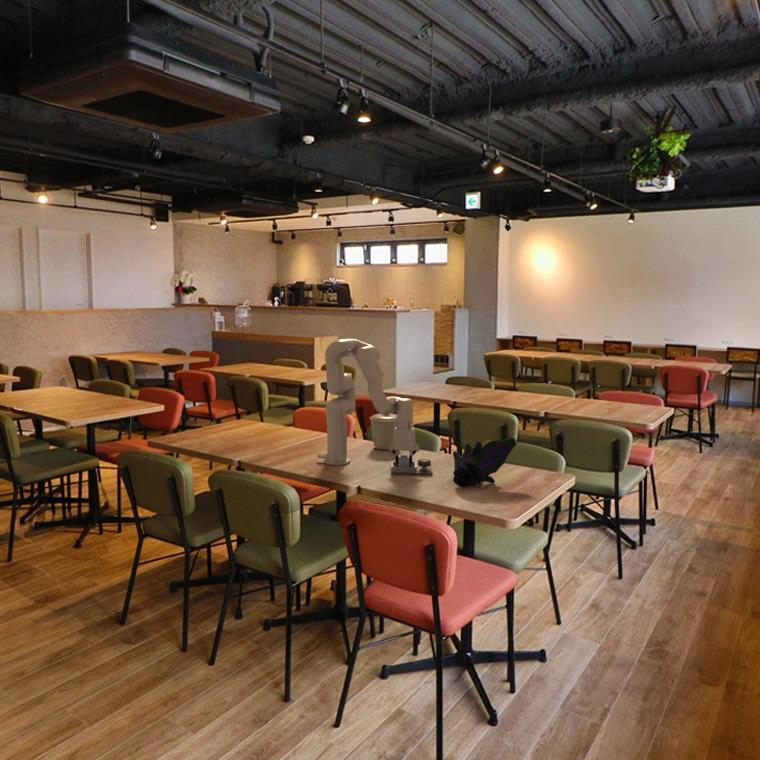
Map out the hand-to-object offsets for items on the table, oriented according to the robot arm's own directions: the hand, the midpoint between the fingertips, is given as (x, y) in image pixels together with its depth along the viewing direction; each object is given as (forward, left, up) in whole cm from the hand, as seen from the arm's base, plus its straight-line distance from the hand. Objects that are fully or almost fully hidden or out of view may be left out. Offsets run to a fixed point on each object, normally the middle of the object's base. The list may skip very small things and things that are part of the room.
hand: (403, 463), depth 291 cm
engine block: (0, 0, -3) cm, 3 cm away
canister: (-8, +46, -4) cm, 47 cm away
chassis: (+4, 0, -4) cm, 5 cm away
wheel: (+10, 0, -1) cm, 10 cm away
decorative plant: (+32, -16, -4) cm, 36 cm away
